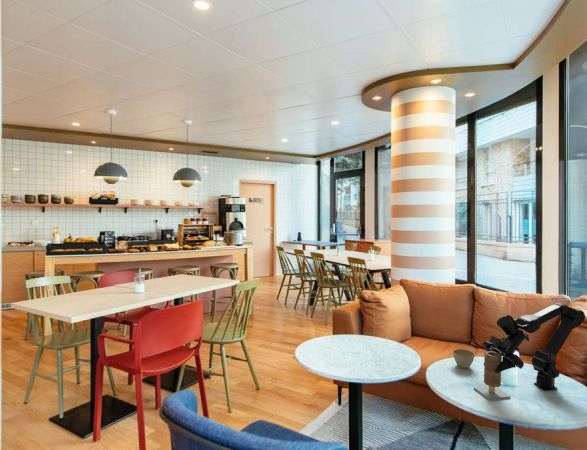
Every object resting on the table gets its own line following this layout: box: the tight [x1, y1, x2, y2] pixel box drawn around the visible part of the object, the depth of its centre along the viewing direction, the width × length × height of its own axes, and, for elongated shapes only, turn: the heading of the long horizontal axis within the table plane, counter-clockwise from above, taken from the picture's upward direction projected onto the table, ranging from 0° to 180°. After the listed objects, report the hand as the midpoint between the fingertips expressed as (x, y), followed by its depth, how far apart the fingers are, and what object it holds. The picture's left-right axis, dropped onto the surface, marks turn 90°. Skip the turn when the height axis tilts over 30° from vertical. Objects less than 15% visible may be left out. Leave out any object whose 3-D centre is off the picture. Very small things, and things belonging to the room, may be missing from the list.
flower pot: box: [452, 348, 476, 370], centre depth 195 cm, size 10×10×7 cm
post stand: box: [473, 385, 511, 401], centre depth 168 cm, size 10×10×5 cm
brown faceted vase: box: [483, 351, 503, 388], centre depth 167 cm, size 6×6×13 cm
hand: (489, 368), depth 167 cm, fingers closed on brown faceted vase, 6 cm apart
